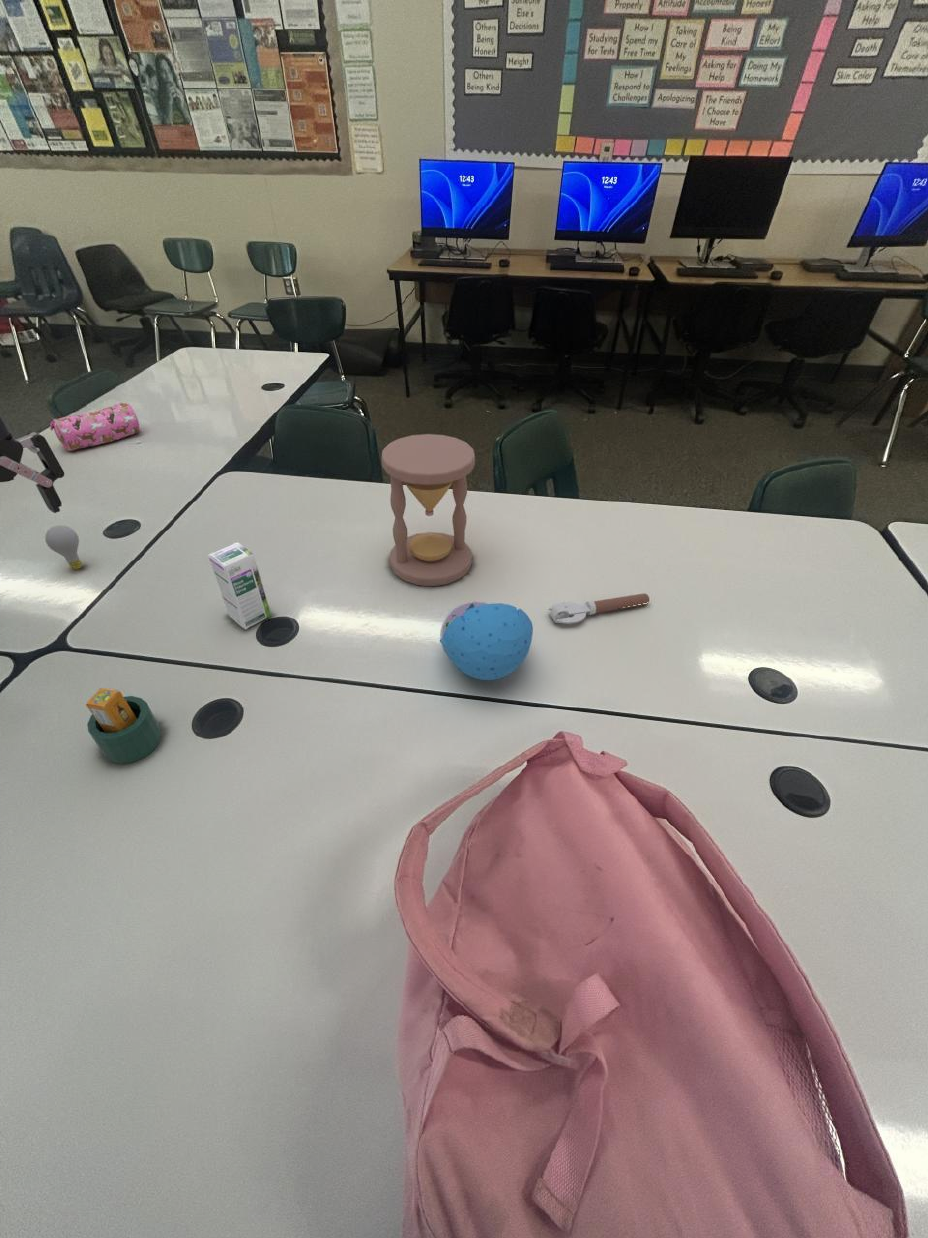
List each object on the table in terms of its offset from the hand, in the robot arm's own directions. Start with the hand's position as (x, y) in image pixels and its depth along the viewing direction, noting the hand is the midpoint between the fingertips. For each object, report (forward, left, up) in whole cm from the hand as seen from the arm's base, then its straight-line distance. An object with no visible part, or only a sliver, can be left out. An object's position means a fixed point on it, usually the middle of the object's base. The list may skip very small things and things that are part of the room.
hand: (21, 523), depth 75 cm
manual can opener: (+66, -58, -30) cm, 93 cm away
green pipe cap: (-5, -16, -30) cm, 34 cm away
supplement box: (-5, -16, -30) cm, 34 cm away
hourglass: (+59, -22, -30) cm, 70 cm away
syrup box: (+24, -6, -30) cm, 39 cm away
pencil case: (+48, +93, -30) cm, 109 cm away
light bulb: (+12, +35, -30) cm, 48 cm away
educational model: (+41, -48, -30) cm, 70 cm away
